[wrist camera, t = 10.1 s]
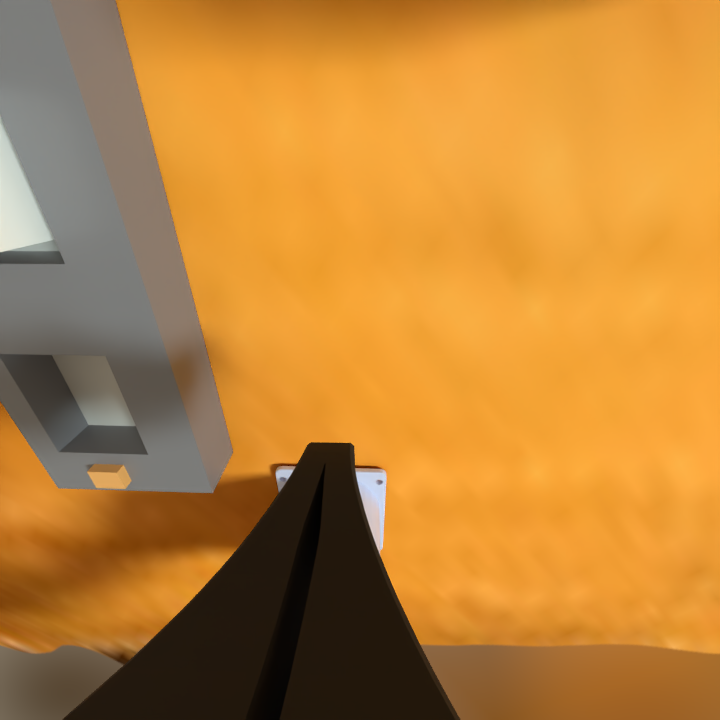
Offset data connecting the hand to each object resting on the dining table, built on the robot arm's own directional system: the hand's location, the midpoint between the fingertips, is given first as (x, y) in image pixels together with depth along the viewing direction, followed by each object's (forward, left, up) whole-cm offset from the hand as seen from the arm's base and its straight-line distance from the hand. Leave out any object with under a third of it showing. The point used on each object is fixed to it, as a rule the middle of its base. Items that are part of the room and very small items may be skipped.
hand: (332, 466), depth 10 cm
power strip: (+2, +14, -10) cm, 17 cm away
